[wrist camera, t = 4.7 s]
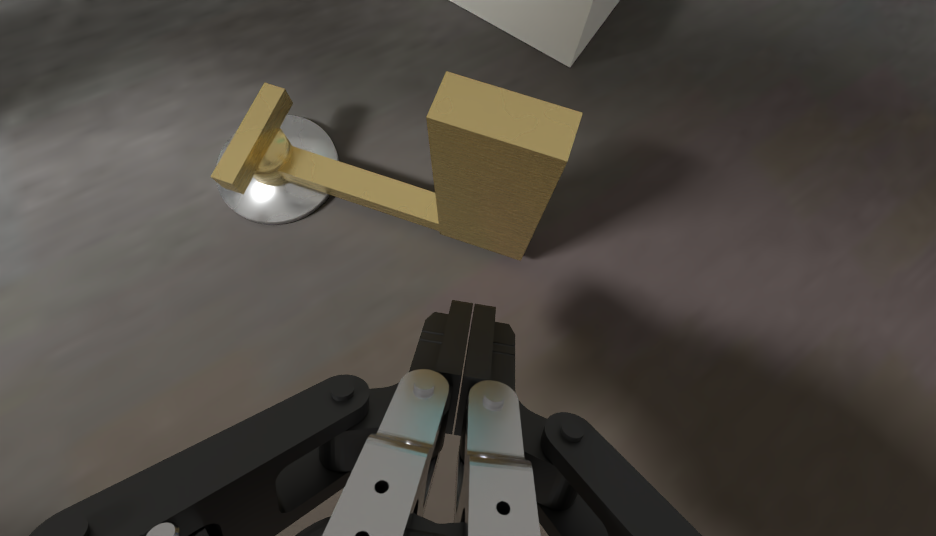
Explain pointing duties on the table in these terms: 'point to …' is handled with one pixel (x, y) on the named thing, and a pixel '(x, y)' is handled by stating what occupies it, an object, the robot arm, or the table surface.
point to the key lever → (453, 163)
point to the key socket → (289, 197)
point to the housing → (546, 22)
